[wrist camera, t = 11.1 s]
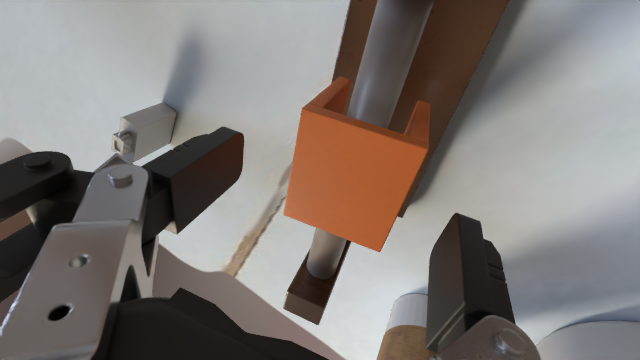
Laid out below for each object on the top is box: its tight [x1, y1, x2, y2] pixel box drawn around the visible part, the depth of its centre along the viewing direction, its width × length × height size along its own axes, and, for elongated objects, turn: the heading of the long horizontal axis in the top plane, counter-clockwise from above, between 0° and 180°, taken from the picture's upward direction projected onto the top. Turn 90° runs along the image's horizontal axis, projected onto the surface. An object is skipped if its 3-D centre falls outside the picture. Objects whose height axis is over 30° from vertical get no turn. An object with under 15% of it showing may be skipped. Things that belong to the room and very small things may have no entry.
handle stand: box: [283, 0, 509, 325], centre depth 15 cm, size 8×16×12 cm, turn 169°
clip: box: [284, 77, 430, 252], centre depth 13 cm, size 4×5×5 cm
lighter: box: [93, 103, 176, 173], centre depth 26 cm, size 7×2×8 cm, turn 151°
